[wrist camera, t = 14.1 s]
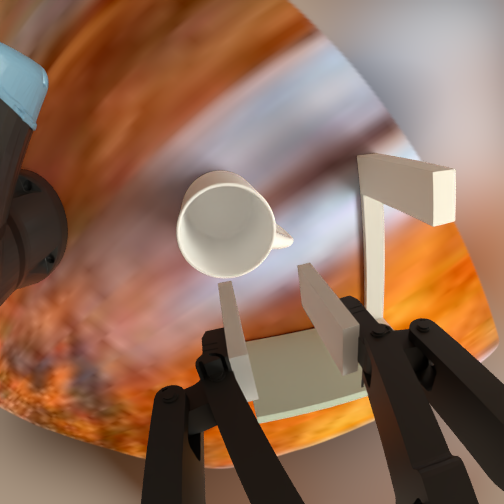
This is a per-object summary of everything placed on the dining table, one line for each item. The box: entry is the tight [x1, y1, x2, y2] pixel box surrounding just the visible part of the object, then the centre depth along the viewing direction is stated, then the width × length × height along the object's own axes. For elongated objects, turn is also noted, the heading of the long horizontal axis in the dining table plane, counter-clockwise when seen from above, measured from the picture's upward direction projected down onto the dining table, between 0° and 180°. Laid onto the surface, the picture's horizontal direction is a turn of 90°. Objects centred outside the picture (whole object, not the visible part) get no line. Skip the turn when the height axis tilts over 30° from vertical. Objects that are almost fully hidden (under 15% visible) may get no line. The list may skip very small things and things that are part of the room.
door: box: [245, 328, 368, 423], centre depth 38 cm, size 19×3×16 cm, turn 97°
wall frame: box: [357, 153, 456, 329], centre depth 36 cm, size 30×3×15 cm, turn 10°
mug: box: [176, 171, 293, 278], centre depth 32 cm, size 9×12×11 cm
